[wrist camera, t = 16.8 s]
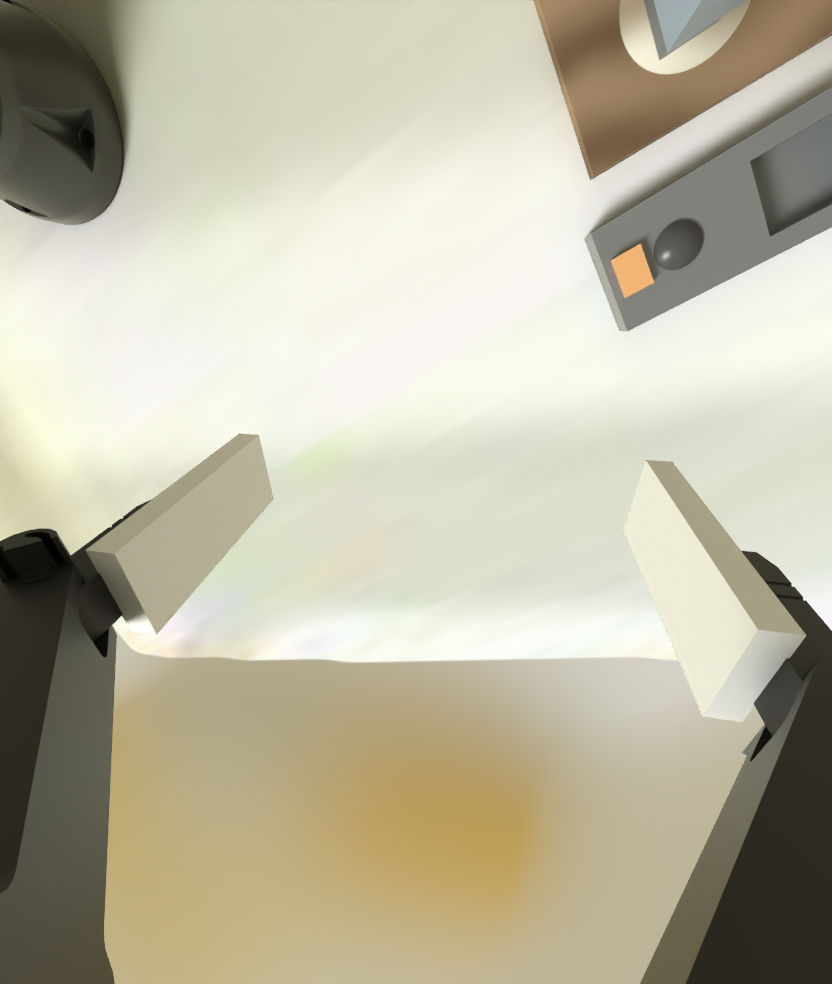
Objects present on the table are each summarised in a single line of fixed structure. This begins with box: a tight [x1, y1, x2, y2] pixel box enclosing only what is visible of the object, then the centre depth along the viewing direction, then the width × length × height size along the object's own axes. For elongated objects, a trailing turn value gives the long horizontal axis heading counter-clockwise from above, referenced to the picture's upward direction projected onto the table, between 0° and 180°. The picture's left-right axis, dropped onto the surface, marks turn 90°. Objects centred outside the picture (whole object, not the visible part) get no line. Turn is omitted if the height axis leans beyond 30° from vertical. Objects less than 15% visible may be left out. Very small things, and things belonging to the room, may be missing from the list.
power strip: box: [585, 87, 832, 331], centre depth 30 cm, size 18×8×4 cm, turn 120°
